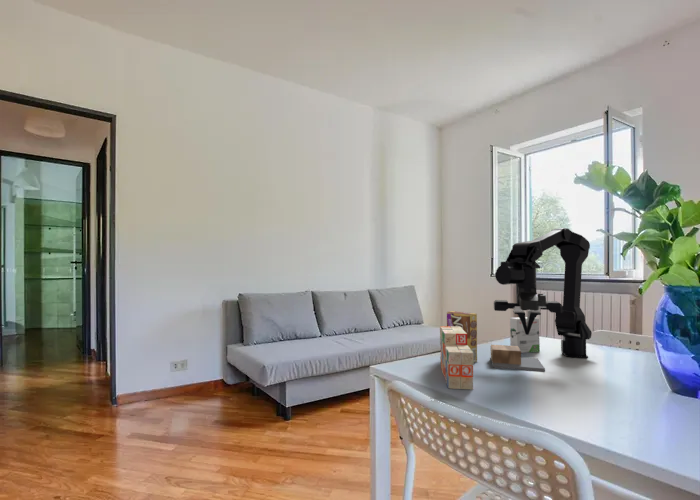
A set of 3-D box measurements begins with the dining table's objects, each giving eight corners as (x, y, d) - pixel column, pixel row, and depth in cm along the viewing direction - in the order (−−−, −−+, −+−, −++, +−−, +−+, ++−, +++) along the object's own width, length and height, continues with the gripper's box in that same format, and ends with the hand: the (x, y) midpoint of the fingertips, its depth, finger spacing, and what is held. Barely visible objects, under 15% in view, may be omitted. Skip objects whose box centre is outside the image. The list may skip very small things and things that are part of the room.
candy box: (478, 361, 120) (477, 313, 120) (470, 364, 117) (469, 314, 118) (454, 356, 127) (453, 310, 127) (446, 358, 124) (445, 311, 125)
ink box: (531, 349, 137) (531, 316, 137) (540, 352, 132) (540, 318, 133) (509, 350, 136) (509, 316, 136) (517, 353, 131) (517, 318, 131)
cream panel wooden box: (517, 346, 120) (490, 344, 123) (521, 351, 114) (492, 349, 116) (518, 358, 120) (490, 357, 123) (521, 364, 114) (492, 362, 116)
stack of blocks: (474, 390, 94) (473, 340, 94) (448, 389, 95) (447, 339, 95) (461, 366, 115) (460, 325, 116) (440, 365, 116) (439, 325, 116)
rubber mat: (537, 360, 121) (537, 358, 121) (544, 371, 110) (544, 368, 110) (490, 357, 125) (490, 355, 125) (493, 367, 114) (493, 364, 114)
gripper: (495, 284, 112) (496, 338, 112) (566, 285, 107) (567, 341, 106) (493, 282, 123) (494, 331, 123) (557, 283, 117) (558, 334, 117)
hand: (527, 334), depth 117 cm, fingers closed
